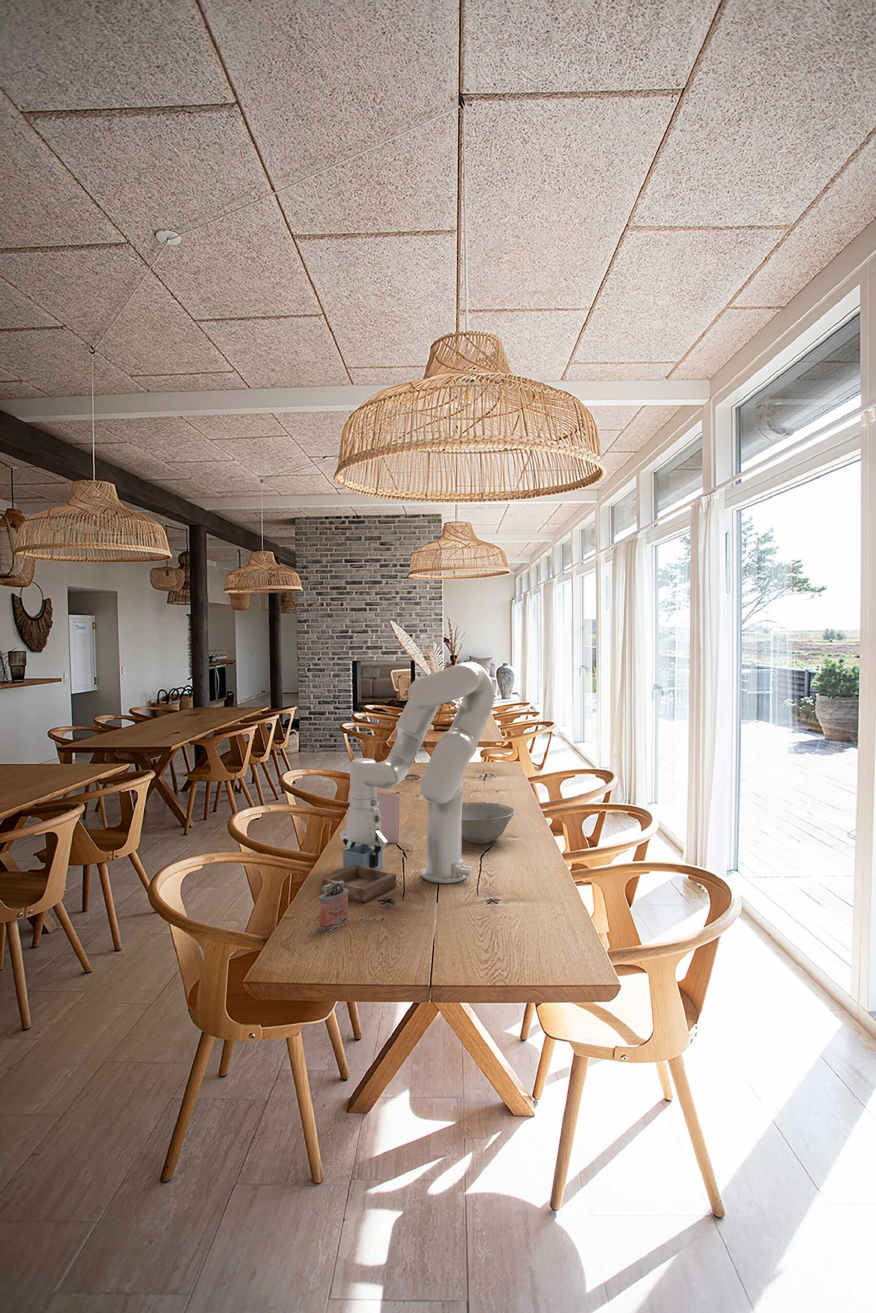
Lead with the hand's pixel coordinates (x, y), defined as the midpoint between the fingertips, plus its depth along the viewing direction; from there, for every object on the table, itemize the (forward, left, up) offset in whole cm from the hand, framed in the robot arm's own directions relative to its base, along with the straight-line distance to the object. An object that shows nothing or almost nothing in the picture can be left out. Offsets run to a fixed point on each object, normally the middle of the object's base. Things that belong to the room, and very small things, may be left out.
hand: (362, 864), depth 203 cm
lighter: (-18, +34, -2) cm, 39 cm away
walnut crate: (-9, +13, -1) cm, 16 cm away
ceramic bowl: (-14, -43, -2) cm, 45 cm away
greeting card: (+12, -24, -2) cm, 27 cm away
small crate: (0, 0, -1) cm, 1 cm away
